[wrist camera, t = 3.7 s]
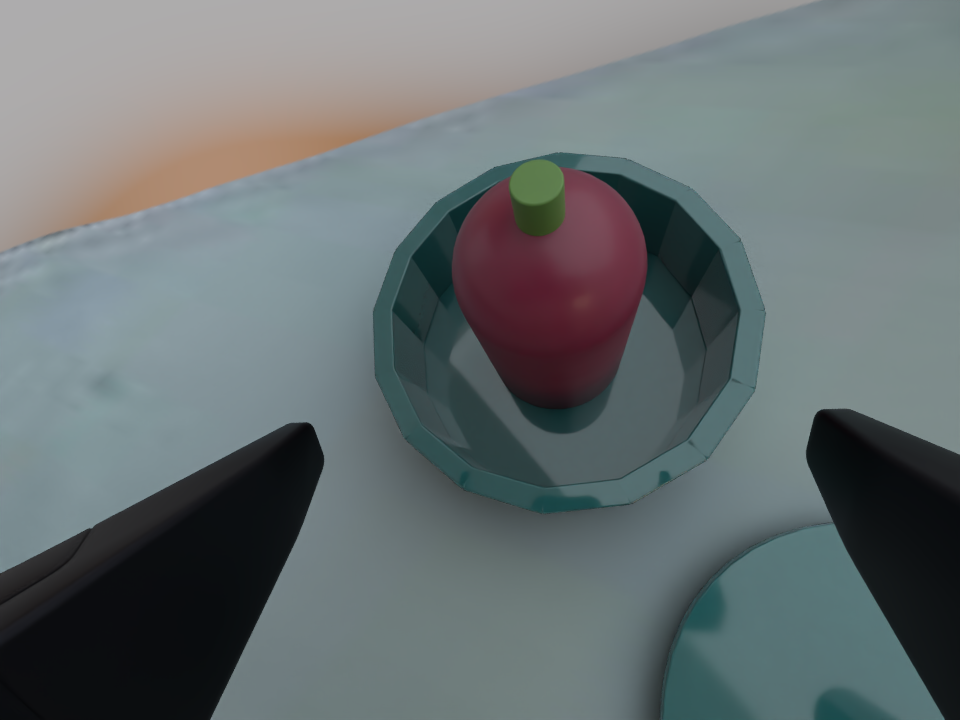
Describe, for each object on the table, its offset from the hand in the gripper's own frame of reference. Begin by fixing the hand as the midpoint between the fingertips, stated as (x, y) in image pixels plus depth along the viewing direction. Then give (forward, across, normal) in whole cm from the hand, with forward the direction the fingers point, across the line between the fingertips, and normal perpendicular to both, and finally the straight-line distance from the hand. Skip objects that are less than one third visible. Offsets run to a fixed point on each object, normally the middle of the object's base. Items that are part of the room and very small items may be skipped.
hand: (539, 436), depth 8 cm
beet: (+11, 0, +4) cm, 12 cm away
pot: (+12, 0, +4) cm, 13 cm away
